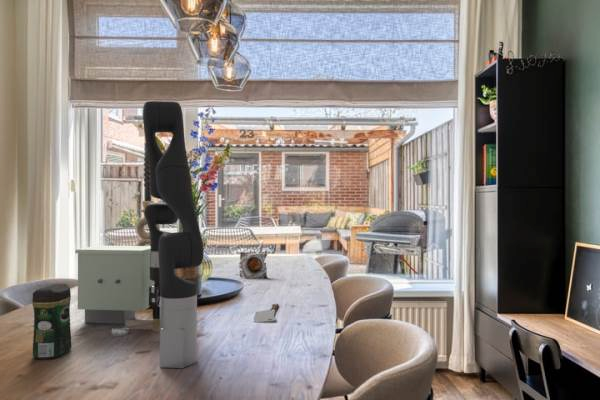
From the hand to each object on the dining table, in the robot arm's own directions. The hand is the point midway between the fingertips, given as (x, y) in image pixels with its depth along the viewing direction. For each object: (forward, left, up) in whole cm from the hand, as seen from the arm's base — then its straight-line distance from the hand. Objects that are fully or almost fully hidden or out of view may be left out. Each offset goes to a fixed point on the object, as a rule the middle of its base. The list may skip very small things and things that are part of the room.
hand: (162, 315), depth 143 cm
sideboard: (+7, +18, -5) cm, 20 cm away
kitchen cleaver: (+24, -30, -5) cm, 38 cm away
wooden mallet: (0, +5, -5) cm, 7 cm away
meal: (+97, -10, -5) cm, 98 cm away
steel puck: (-6, +11, -5) cm, 13 cm away
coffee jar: (-25, +20, -5) cm, 32 cm away
